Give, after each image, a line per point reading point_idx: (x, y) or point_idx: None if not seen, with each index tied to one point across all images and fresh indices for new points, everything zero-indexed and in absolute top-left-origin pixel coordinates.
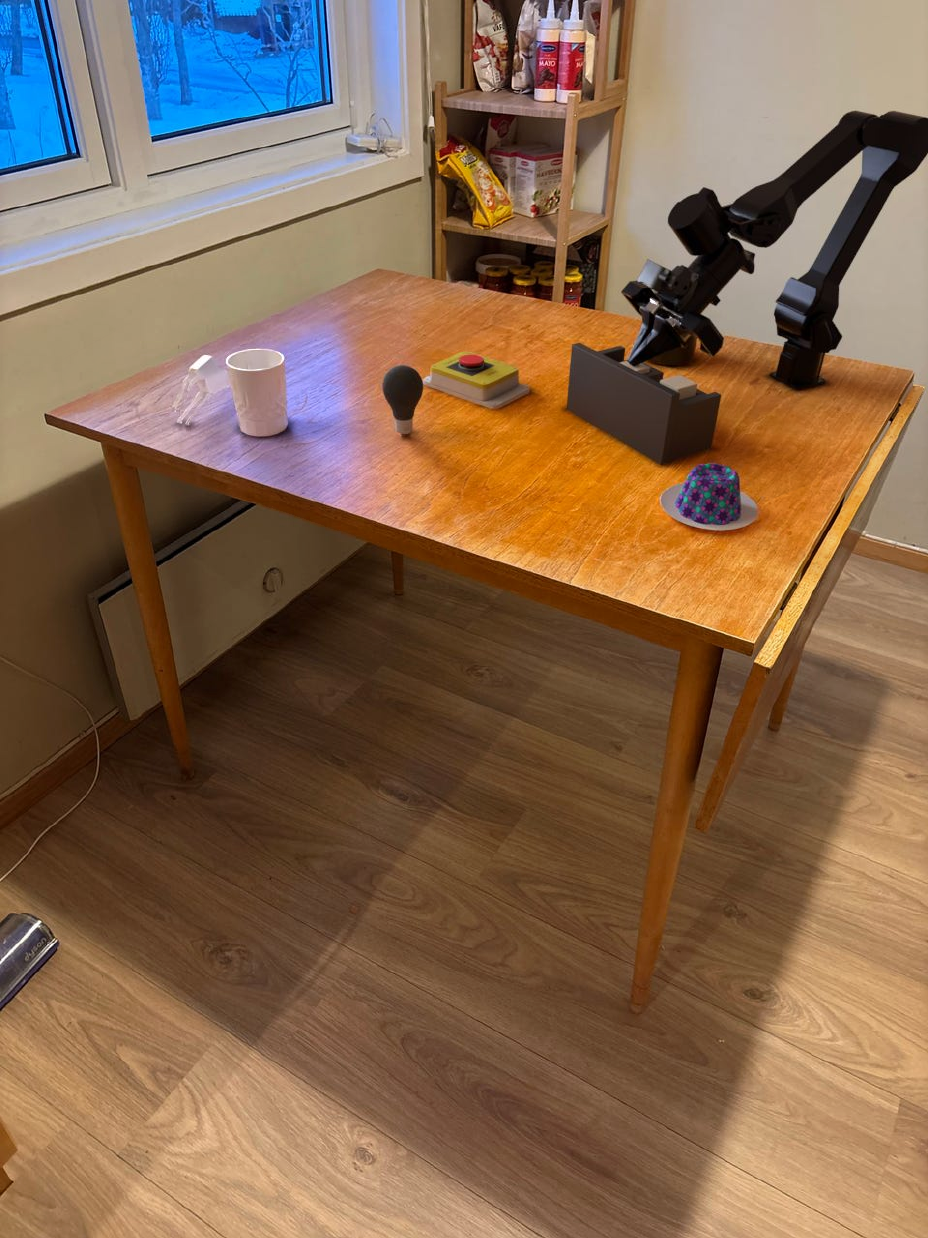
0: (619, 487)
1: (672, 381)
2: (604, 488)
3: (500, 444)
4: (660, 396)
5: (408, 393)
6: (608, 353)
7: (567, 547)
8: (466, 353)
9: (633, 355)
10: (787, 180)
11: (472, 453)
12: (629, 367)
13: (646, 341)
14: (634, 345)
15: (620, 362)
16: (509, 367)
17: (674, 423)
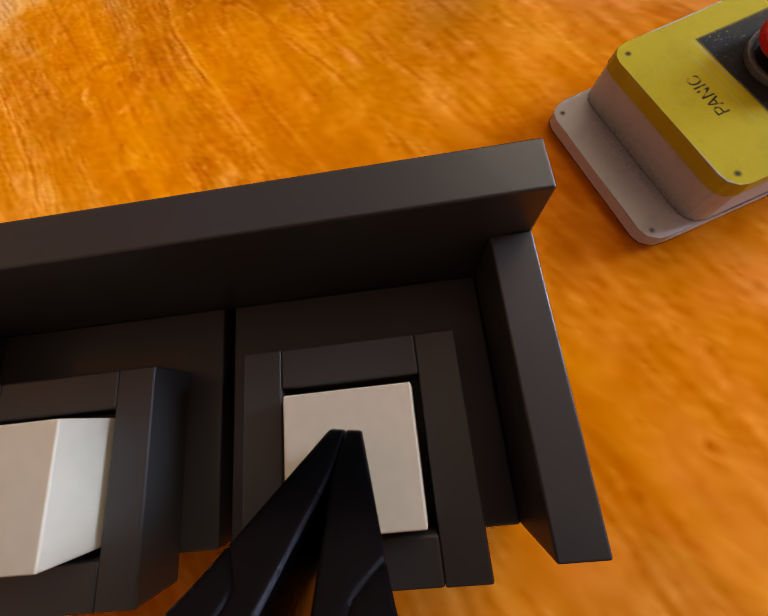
0: (87, 198)
1: (6, 466)
2: (103, 171)
3: (367, 71)
4: None
5: None
6: (523, 410)
7: (17, 45)
8: None
9: (327, 456)
10: None
11: (357, 16)
12: (335, 426)
13: (242, 564)
14: (365, 506)
15: (460, 457)
16: (752, 161)
17: None
